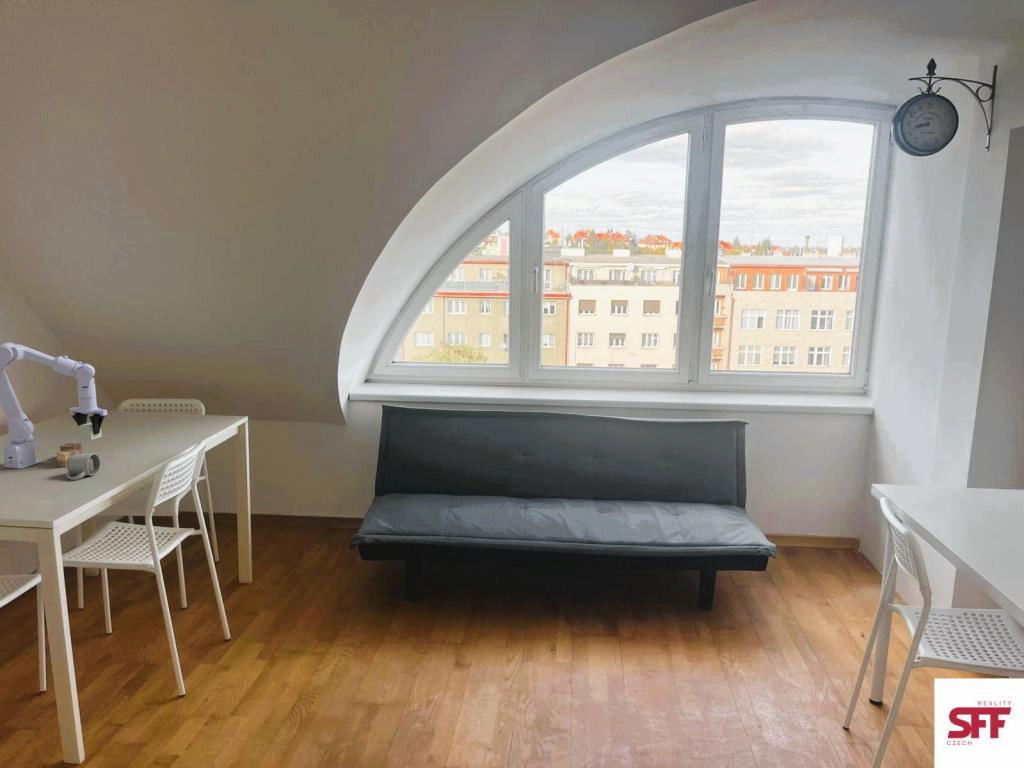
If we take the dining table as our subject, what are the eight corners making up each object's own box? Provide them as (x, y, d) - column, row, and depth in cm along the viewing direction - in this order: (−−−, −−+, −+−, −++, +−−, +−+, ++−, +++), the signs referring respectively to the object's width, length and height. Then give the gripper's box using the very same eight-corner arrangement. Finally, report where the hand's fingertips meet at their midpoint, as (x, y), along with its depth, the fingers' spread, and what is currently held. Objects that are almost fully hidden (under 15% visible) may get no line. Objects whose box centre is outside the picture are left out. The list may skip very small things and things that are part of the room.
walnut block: (74, 459, 277) (73, 446, 276) (61, 459, 277) (60, 446, 277) (82, 455, 282) (81, 443, 281) (69, 455, 282) (68, 442, 281)
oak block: (66, 467, 267) (64, 453, 267) (57, 465, 270) (56, 452, 269) (79, 464, 272) (78, 450, 271) (71, 462, 274) (70, 448, 273)
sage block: (91, 439, 273) (90, 426, 273) (79, 438, 275) (78, 425, 274) (101, 436, 278) (100, 423, 277) (90, 435, 279) (89, 422, 279)
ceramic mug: (78, 471, 263) (76, 450, 261) (101, 471, 263) (99, 450, 261) (60, 481, 253) (58, 459, 251) (84, 481, 252) (82, 459, 251)
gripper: (112, 396, 276) (115, 432, 278) (78, 394, 279) (82, 429, 281) (97, 400, 269) (100, 436, 272) (63, 397, 272) (67, 433, 275)
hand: (90, 433), depth 276 cm, fingers closed on sage block, 5 cm apart
